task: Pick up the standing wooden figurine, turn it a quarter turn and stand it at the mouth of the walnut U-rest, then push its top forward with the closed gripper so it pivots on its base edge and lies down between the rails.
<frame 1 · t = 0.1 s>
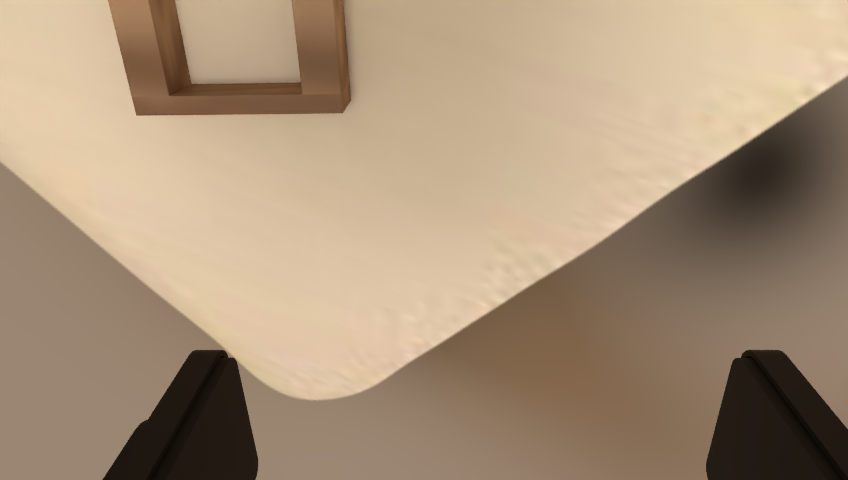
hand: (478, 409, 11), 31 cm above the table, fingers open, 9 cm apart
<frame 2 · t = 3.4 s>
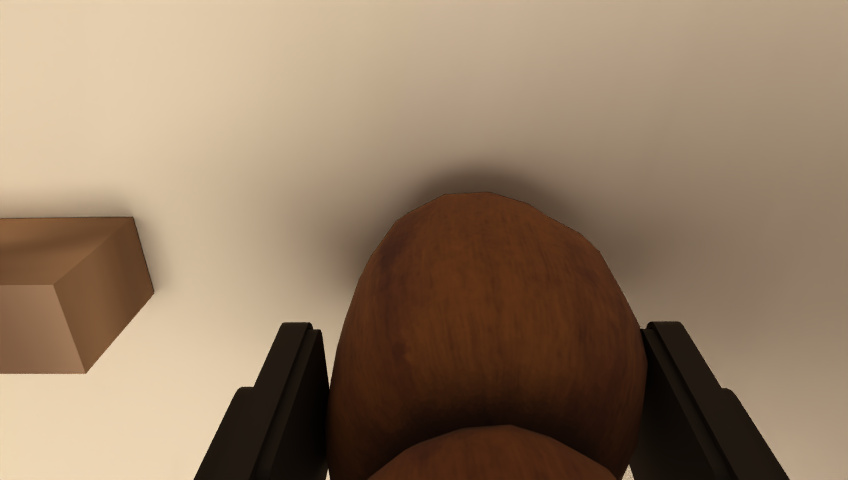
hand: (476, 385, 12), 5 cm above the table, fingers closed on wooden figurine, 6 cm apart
wooden figurine: (468, 267, 16), on the table, touching gripper
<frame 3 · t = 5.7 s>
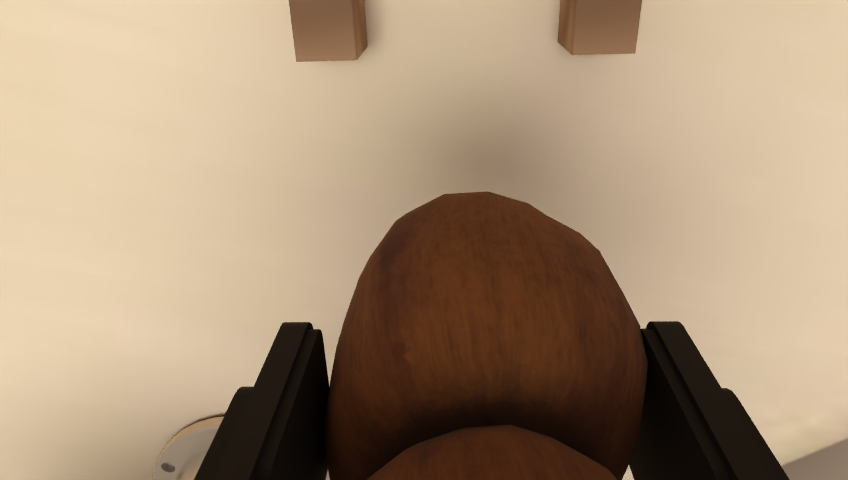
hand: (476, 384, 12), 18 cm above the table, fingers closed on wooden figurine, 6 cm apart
wooden figurine: (468, 267, 16), point 13 cm above the table, touching gripper
when the fingers open (6 cm above the table, at t = 8.3 s): wooden figurine drops 1 cm, on the table.
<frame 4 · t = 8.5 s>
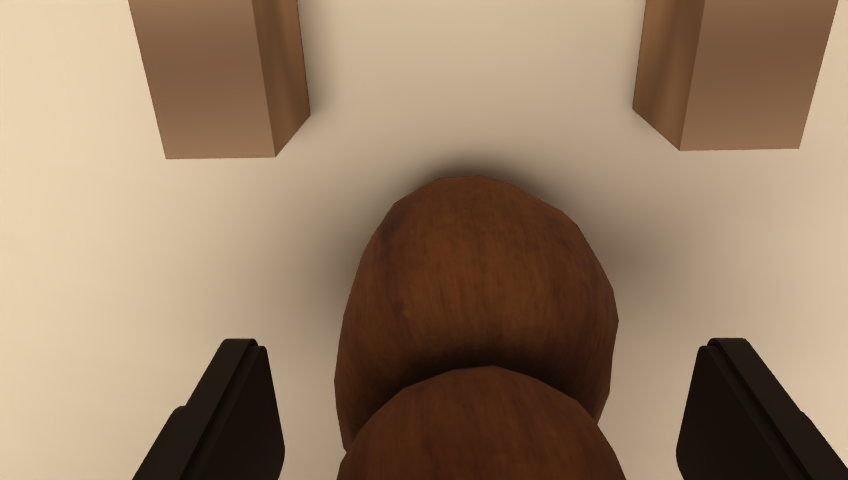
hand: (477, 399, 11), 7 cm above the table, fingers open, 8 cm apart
wooden figurine: (463, 247, 17), on the table
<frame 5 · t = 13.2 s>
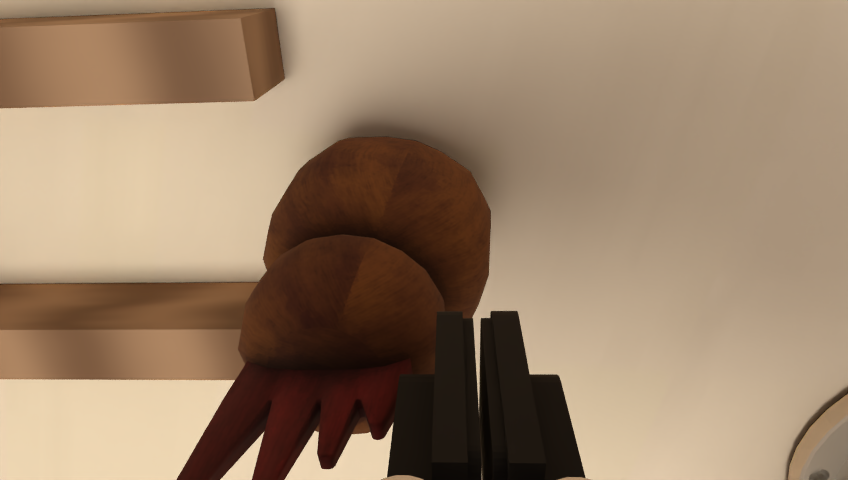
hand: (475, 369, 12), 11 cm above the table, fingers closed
u rest: (93, 192, 24), on the table
wooden figurine: (405, 190, 23), on the table
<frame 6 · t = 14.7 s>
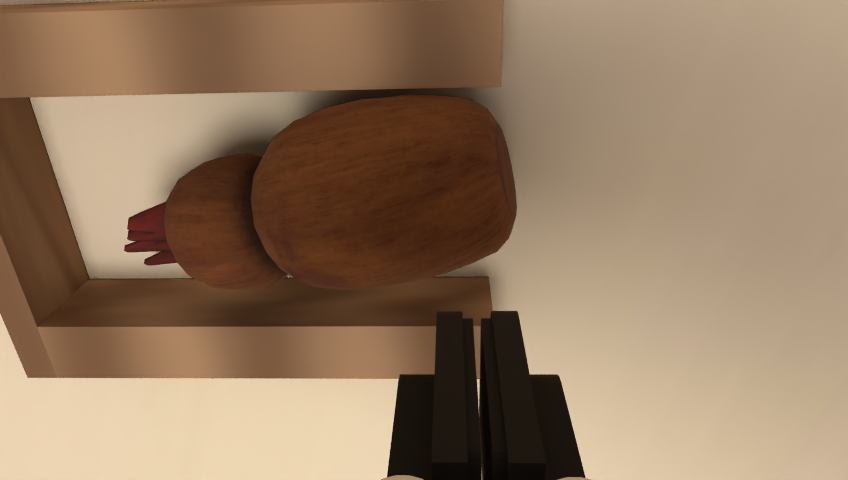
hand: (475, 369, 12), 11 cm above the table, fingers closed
u rest: (270, 183, 23), on the table
wooden figurine: (513, 169, 18), point 4 cm above the table
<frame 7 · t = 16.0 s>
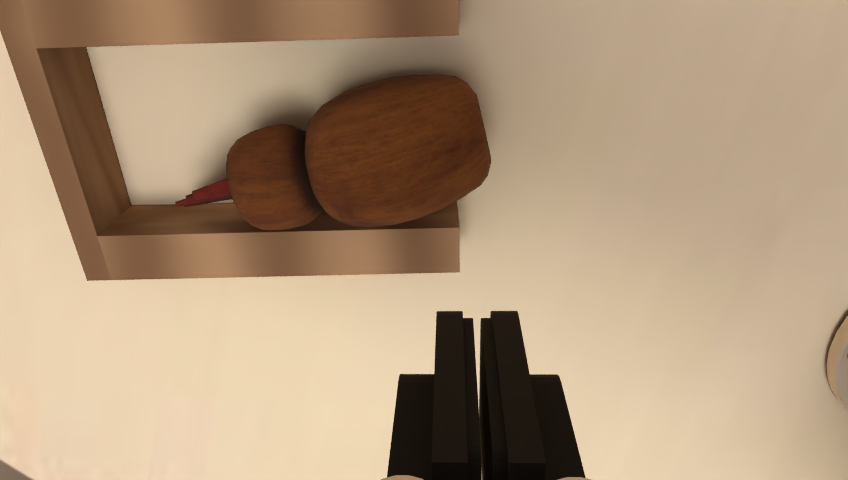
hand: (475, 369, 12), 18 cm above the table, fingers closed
u rest: (280, 121, 28), on the table
wooden figurine: (488, 126, 25), point 3 cm above the table
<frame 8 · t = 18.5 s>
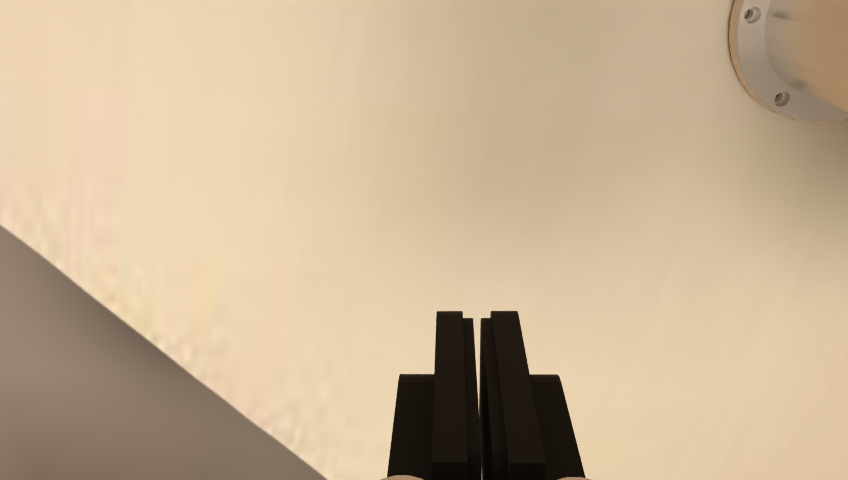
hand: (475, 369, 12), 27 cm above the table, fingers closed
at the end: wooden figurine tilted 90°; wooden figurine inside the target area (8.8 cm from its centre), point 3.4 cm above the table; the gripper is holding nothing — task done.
